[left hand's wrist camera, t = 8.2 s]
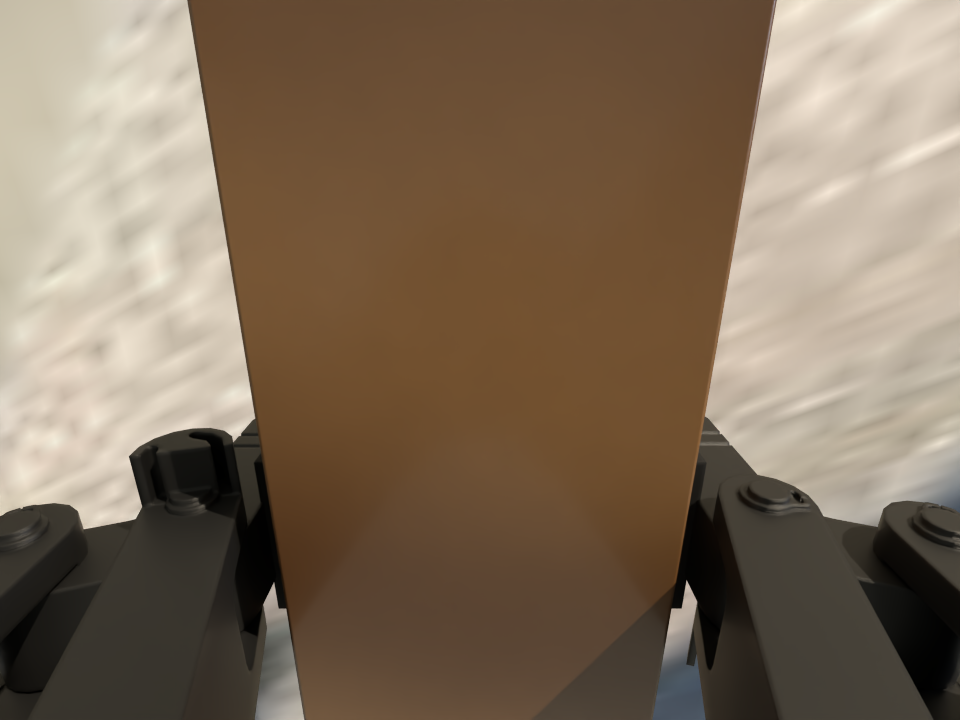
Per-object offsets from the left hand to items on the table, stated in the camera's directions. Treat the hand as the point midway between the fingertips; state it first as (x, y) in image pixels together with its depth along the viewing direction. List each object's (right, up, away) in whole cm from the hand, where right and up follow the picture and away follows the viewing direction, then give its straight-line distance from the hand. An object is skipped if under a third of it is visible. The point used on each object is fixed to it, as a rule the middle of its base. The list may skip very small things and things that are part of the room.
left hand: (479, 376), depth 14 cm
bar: (0, -28, +11) cm, 30 cm away
